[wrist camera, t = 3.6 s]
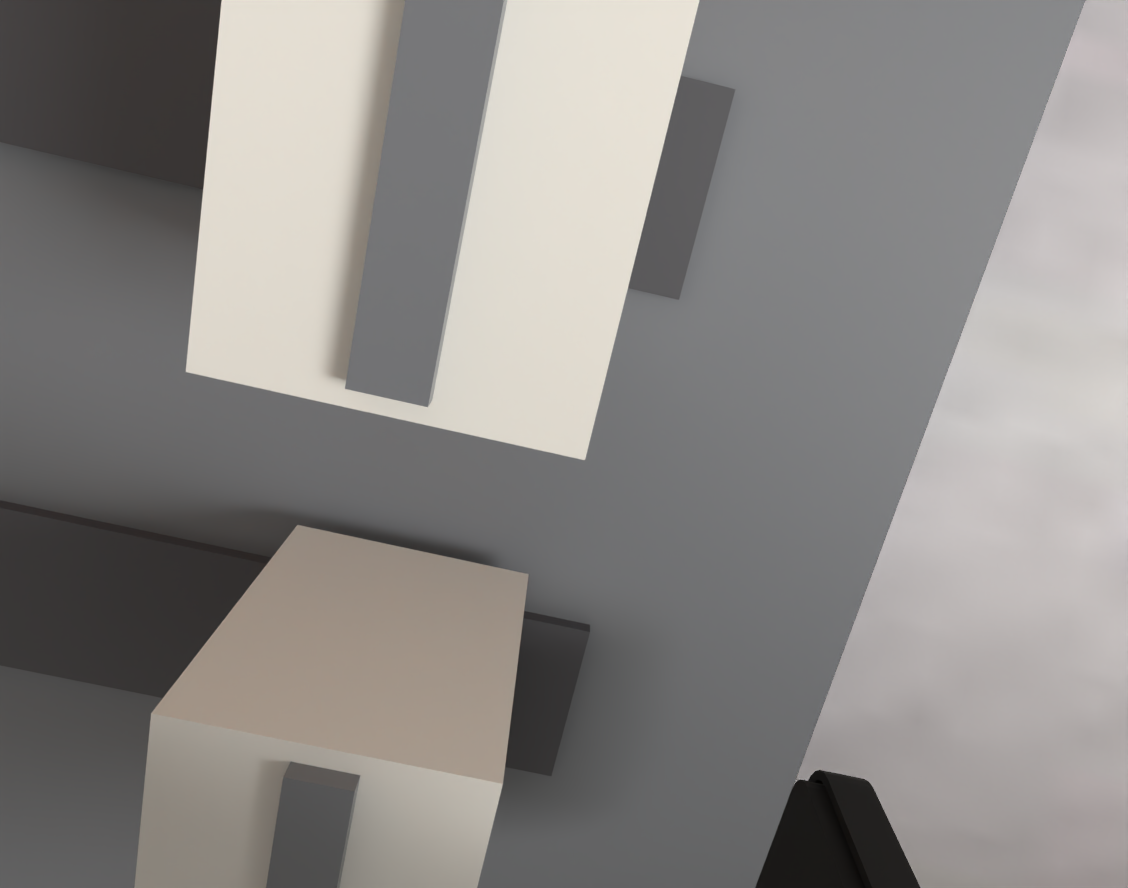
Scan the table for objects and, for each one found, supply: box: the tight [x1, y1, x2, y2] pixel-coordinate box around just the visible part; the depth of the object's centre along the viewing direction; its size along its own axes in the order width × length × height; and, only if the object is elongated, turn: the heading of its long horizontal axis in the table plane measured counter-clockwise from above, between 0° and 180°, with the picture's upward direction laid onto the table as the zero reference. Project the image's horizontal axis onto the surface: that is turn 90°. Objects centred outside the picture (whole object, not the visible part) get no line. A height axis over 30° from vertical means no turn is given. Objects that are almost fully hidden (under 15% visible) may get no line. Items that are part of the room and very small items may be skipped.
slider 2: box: [134, 525, 529, 888], centre depth 10 cm, size 4×3×4 cm
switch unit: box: [0, 0, 1085, 888], centre depth 10 cm, size 25×18×1 cm
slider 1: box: [186, 0, 699, 460], centre depth 8 cm, size 4×3×4 cm
